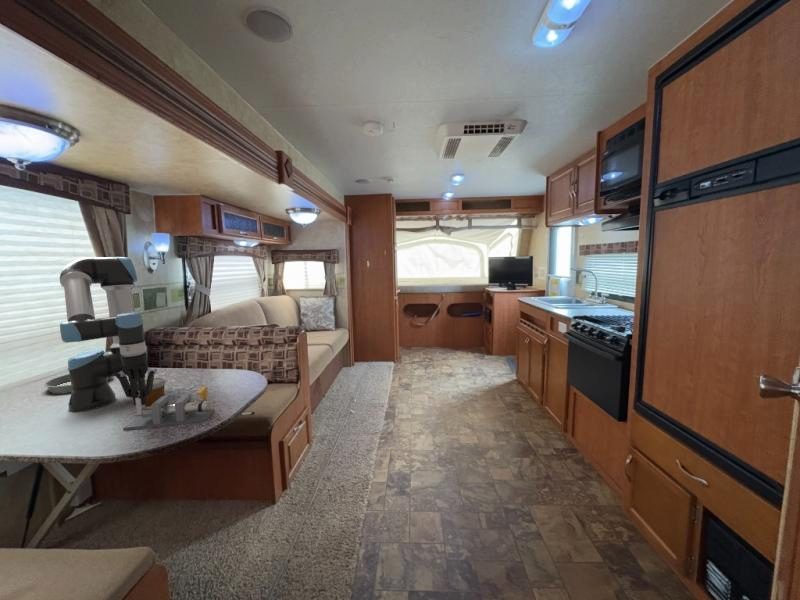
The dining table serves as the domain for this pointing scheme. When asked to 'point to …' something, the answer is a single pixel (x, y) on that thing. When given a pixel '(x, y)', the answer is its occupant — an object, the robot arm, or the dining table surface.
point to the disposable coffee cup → (155, 391)
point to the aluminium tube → (170, 409)
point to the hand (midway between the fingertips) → (141, 412)
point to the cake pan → (57, 381)
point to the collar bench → (172, 419)
